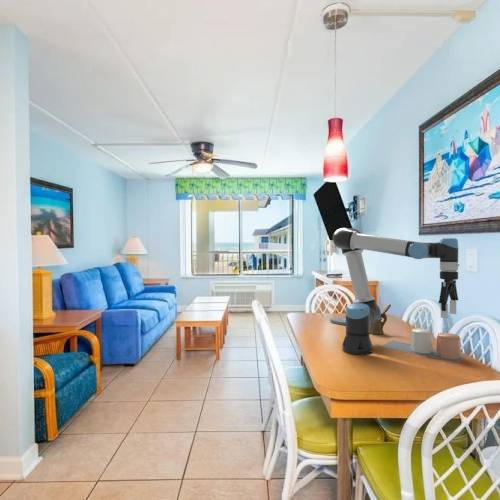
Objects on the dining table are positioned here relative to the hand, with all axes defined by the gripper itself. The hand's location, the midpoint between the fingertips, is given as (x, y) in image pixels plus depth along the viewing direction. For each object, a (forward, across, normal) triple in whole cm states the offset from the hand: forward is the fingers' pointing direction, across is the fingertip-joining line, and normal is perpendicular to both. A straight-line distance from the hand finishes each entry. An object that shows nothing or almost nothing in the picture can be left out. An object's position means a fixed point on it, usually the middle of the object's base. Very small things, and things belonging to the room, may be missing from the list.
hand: (448, 315), depth 162 cm
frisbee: (+21, +37, +72) cm, 84 cm away
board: (+21, 0, +12) cm, 24 cm away
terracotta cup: (+19, 0, 0) cm, 19 cm away
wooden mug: (+21, +24, +45) cm, 55 cm away
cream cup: (+19, 0, +12) cm, 23 cm away
